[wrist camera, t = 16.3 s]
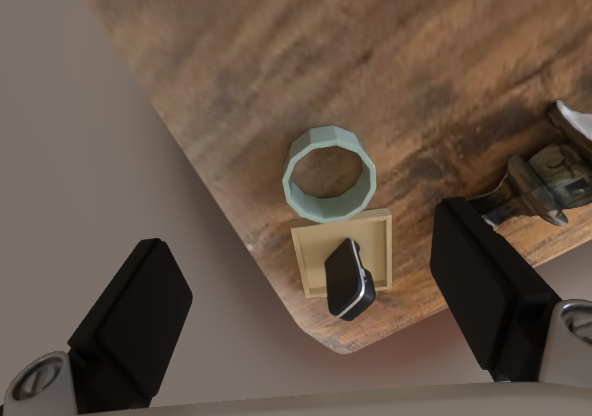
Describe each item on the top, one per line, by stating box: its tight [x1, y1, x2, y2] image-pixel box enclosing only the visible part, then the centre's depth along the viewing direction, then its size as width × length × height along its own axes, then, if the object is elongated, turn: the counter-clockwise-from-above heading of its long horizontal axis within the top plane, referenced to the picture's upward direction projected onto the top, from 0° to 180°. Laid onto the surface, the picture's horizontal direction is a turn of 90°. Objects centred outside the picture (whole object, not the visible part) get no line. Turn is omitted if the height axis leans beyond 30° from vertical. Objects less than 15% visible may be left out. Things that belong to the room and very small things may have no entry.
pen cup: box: [282, 125, 376, 224], centre depth 39 cm, size 11×11×6 cm
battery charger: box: [324, 238, 376, 321], centre depth 44 cm, size 7×4×11 cm, turn 147°
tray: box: [290, 208, 392, 298], centre depth 49 cm, size 15×16×2 cm
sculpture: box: [466, 100, 592, 231], centre depth 37 cm, size 23×11×11 cm, turn 150°
